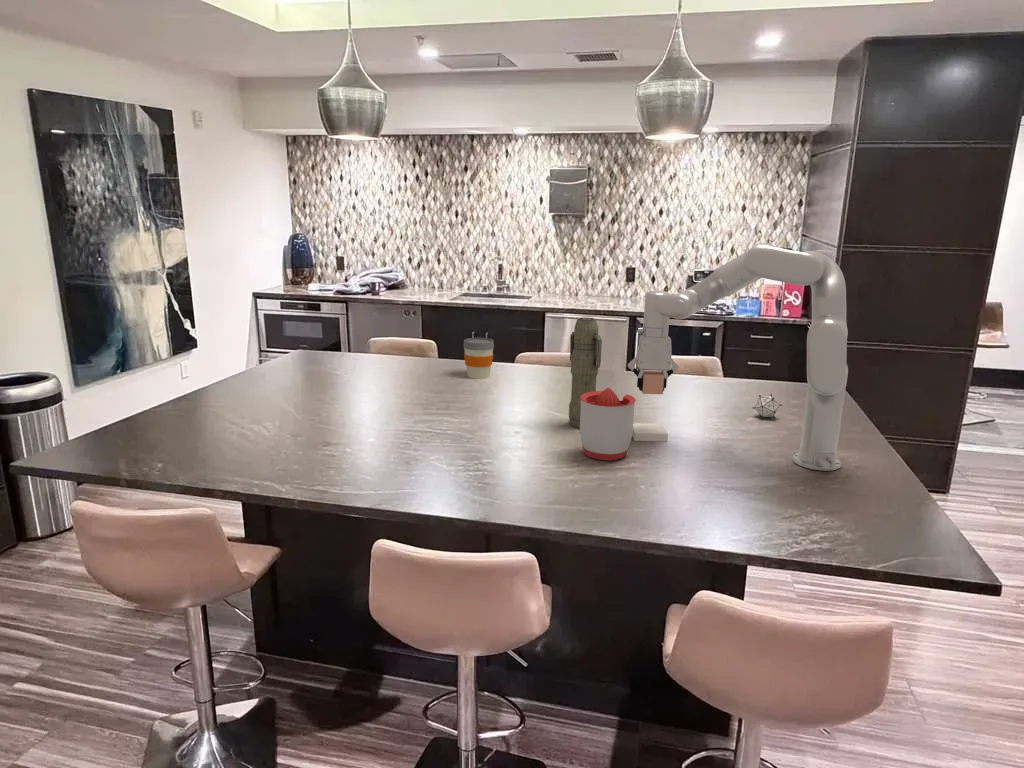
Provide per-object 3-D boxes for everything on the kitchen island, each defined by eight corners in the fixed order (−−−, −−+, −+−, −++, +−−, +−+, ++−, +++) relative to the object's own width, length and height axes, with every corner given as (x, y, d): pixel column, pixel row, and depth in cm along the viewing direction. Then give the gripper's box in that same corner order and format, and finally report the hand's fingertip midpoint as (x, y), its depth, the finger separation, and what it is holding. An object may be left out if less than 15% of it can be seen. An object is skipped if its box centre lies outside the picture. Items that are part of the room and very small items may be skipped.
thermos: (575, 418, 239) (579, 314, 230) (604, 425, 231) (610, 319, 223) (559, 423, 232) (563, 317, 224) (589, 431, 225) (594, 322, 216)
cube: (662, 394, 215) (664, 375, 214) (643, 393, 215) (644, 374, 214) (659, 389, 221) (660, 370, 220) (639, 388, 221) (641, 370, 220)
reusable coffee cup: (499, 375, 295) (500, 339, 292) (482, 381, 285) (482, 344, 281) (474, 371, 302) (475, 336, 298) (457, 376, 292) (457, 341, 288)
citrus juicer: (642, 450, 209) (646, 384, 204) (619, 468, 195) (623, 397, 190) (593, 440, 217) (596, 377, 212) (568, 457, 202) (571, 389, 197)
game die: (769, 429, 243) (784, 412, 235) (746, 419, 244) (760, 401, 236) (773, 411, 249) (787, 393, 241) (750, 401, 250) (763, 383, 242)
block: (667, 441, 217) (667, 433, 216) (634, 440, 217) (635, 433, 216) (661, 431, 227) (661, 423, 226) (629, 430, 227) (630, 423, 226)
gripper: (628, 333, 210) (624, 392, 215) (686, 335, 210) (682, 393, 214) (625, 329, 217) (621, 386, 222) (681, 330, 217) (676, 387, 222)
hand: (651, 389), depth 218 cm, fingers closed on cube, 6 cm apart
